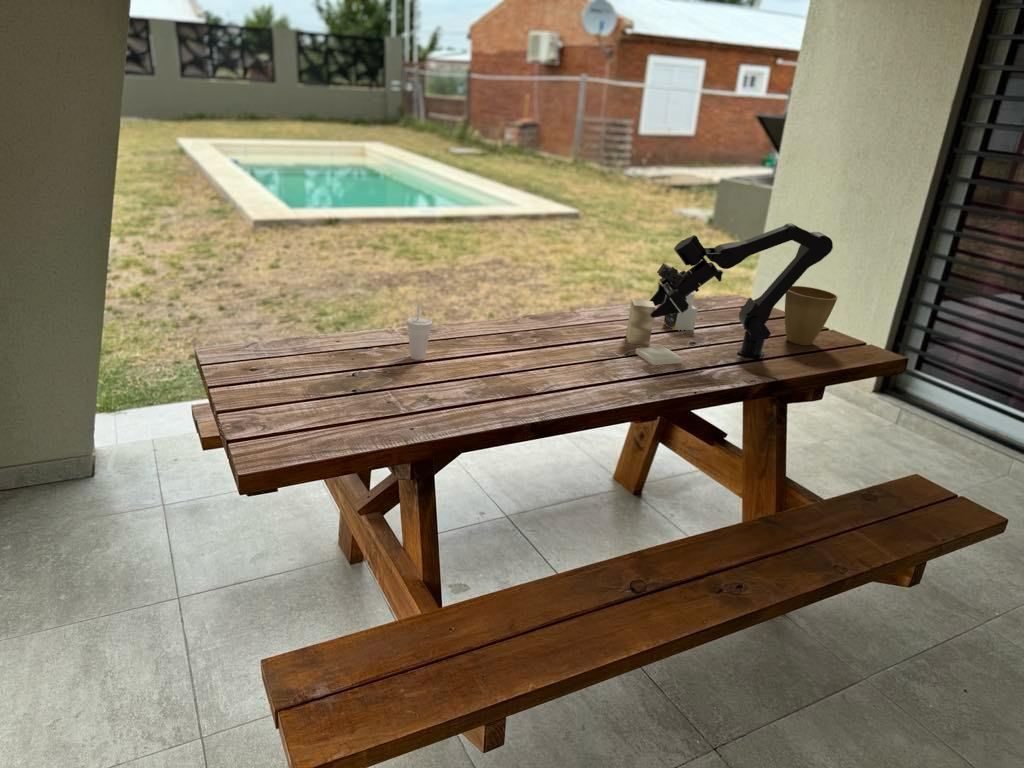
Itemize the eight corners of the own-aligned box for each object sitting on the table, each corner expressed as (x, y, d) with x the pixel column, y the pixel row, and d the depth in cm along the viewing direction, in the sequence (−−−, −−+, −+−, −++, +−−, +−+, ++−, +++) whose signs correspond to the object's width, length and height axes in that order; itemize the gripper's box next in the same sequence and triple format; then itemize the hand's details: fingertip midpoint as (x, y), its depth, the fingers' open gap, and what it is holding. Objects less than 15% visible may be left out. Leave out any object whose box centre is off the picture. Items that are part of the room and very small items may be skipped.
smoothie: (415, 350, 191) (418, 298, 186) (435, 357, 189) (438, 304, 183) (399, 357, 186) (401, 303, 181) (420, 363, 183) (422, 309, 178)
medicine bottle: (662, 323, 235) (669, 286, 230) (682, 323, 237) (689, 287, 233) (673, 331, 229) (680, 293, 224) (694, 330, 231) (701, 293, 226)
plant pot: (829, 352, 223) (843, 301, 217) (779, 345, 225) (791, 294, 219) (818, 337, 237) (831, 289, 231) (771, 331, 239) (782, 282, 232)
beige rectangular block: (645, 340, 217) (652, 301, 213) (648, 347, 212) (655, 307, 207) (625, 338, 217) (631, 299, 213) (627, 345, 212) (634, 305, 207)
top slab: (662, 351, 207) (663, 346, 207) (681, 363, 200) (682, 357, 199) (635, 353, 204) (636, 348, 203) (653, 365, 196) (654, 360, 195)
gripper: (672, 248, 213) (628, 281, 217) (684, 263, 196) (636, 299, 200) (694, 278, 216) (650, 310, 220) (708, 295, 199) (660, 329, 203)
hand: (648, 311), depth 211 cm, fingers open, 9 cm apart
